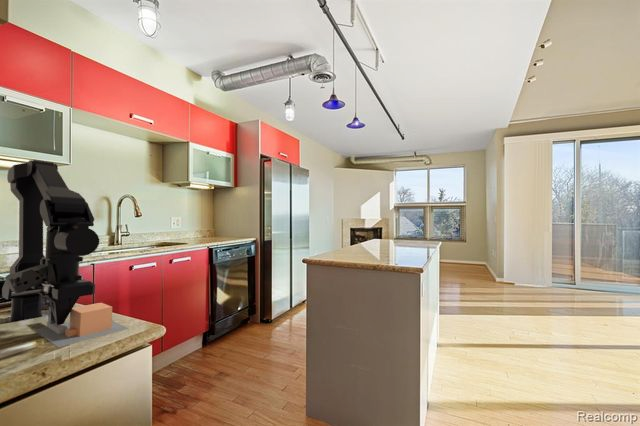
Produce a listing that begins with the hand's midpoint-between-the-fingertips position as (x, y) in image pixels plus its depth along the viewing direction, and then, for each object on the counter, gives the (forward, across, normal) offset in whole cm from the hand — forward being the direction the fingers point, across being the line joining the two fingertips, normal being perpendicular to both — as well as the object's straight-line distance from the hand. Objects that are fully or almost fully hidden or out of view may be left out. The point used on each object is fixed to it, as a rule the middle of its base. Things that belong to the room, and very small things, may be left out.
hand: (59, 324), depth 65 cm
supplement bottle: (+3, -30, +7) cm, 31 cm away
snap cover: (+2, +2, +5) cm, 6 cm away
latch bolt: (+1, -7, 0) cm, 7 cm away
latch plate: (+3, 0, +4) cm, 5 cm away
